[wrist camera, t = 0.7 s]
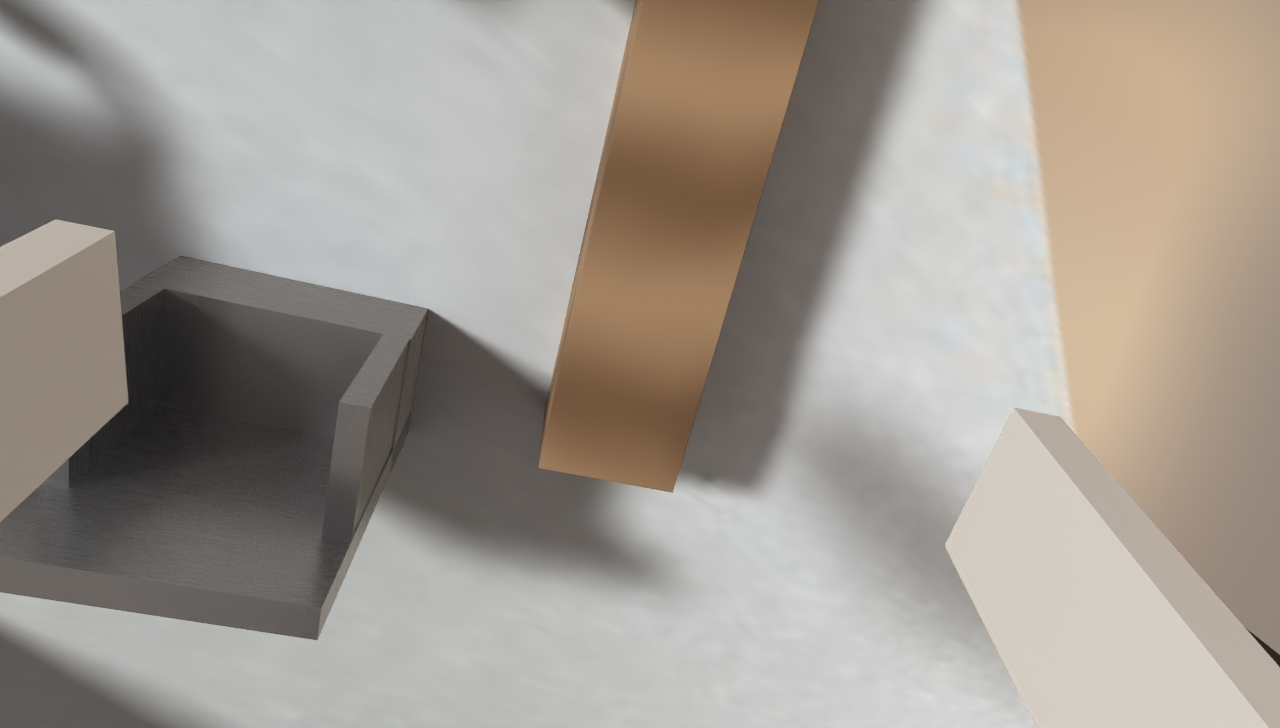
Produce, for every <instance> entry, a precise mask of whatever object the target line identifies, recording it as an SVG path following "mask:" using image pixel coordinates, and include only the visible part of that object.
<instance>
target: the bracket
mask: <svg viewBox="0 0 1280 728" xmlns="http://www.w3.org/2000/svg"><path fill="white" fill-rule="evenodd" d="M120 301H121V314H122V327H123V339H124V352H125V365H126V378H127V390H128V403H127V404H126V405H125V406H124V407H123V408H122V409H121V410H120V411H119V412H118V413H117V414H116V415H115V416H114V417H112V418H111V419H110V420H109V421H108V422H107V423H106V424H105V425H104V426H103V427H102V428H101V429H100V430H99V431H97V432H96V433H95V434H94V435H93V436H92V437H91V438H90V439H89V440H88V441H87V442H86V443H85V444H84V445H82V446H81V447H80V448H79V449H78V450H77V451H76V452H75V453H74V454H73V455H72V456H71V457H70V458H69V459H67V460H66V461H65V462H64V463H63V464H62V465H61V466H60V467H59V468H58V469H57V470H56V471H55V472H54V473H52V474H51V475H50V476H49V477H48V478H47V479H46V480H45V481H44V482H43V483H42V484H41V485H40V486H39V487H37V488H36V489H35V490H34V491H33V492H32V493H31V494H30V495H29V496H28V497H27V498H26V499H25V500H23V501H22V502H21V503H20V504H19V505H18V506H17V507H16V508H15V509H14V510H13V511H12V512H11V513H10V514H8V515H7V516H6V517H5V518H4V519H3V520H2V521H1V522H0V592H3V593H10V594H16V595H23V596H29V597H36V598H43V599H49V600H56V601H62V602H69V603H76V604H82V605H89V606H95V607H102V608H109V609H115V610H122V611H128V612H135V613H142V614H148V615H155V616H161V617H168V618H175V619H181V620H188V621H194V622H201V623H208V624H214V625H221V626H227V627H234V628H241V629H247V630H254V631H260V632H267V633H274V634H280V635H287V636H293V637H300V638H307V639H313V640H318V637H319V635H320V633H321V630H322V628H323V626H324V624H325V621H326V619H327V617H328V614H329V612H330V610H331V607H332V605H333V603H334V601H335V598H336V596H337V594H338V591H339V589H340V587H341V585H342V582H343V580H344V578H345V575H346V573H347V571H348V569H349V566H350V564H351V562H352V559H353V557H354V555H355V553H356V550H357V548H358V546H359V543H360V541H361V539H362V536H363V534H364V532H365V530H366V527H367V525H368V523H369V520H370V518H371V516H372V514H373V511H374V509H375V507H376V504H377V502H378V500H379V498H380V495H381V493H382V491H383V488H384V486H385V484H386V481H387V479H388V477H389V475H390V472H391V470H392V468H393V465H394V463H395V461H396V459H397V456H398V454H399V452H400V449H401V447H402V445H403V443H404V440H405V438H406V436H407V432H408V426H409V420H410V414H411V408H412V402H413V396H414V390H415V384H416V378H417V372H418V366H419V360H420V354H421V348H422V342H423V336H424V330H425V324H426V318H427V311H428V309H426V308H422V307H417V306H412V305H407V304H403V303H398V302H393V301H389V300H384V299H379V298H375V297H370V296H365V295H361V294H356V293H351V292H347V291H342V290H337V289H333V288H328V287H323V286H319V285H314V284H309V283H304V282H300V281H295V280H290V279H286V278H281V277H276V276H272V275H267V274H262V273H258V272H253V271H248V270H244V269H239V268H234V267H230V266H225V265H220V264H216V263H211V262H206V261H202V260H197V259H192V258H187V257H183V256H180V257H178V258H176V259H174V260H173V261H171V262H169V263H167V264H166V265H164V266H162V267H160V268H159V269H157V270H155V271H154V272H152V273H150V274H148V275H147V276H145V277H143V278H141V279H140V280H138V281H136V282H135V284H133V285H132V286H130V287H128V288H126V289H125V290H123V291H121V292H120Z"/></svg>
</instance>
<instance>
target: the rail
mask: <svg viewBox="0 0 1280 728" xmlns="http://www.w3.org/2000/svg"><path fill="white" fill-rule="evenodd" d="M818 2H819V0H636V3H635V7H634V12H633V16H632V21H631V25H630V30H629V34H628V39H627V43H626V48H625V52H624V57H623V61H622V66H621V70H620V75H619V79H618V84H617V88H616V93H615V97H614V102H613V106H612V111H611V115H610V120H609V124H608V129H607V133H606V138H605V142H604V147H603V151H602V156H601V160H600V165H599V169H598V174H597V178H596V183H595V187H594V192H593V196H592V201H591V205H590V210H589V214H588V219H587V223H586V228H585V232H584V237H583V241H582V246H581V250H580V255H579V259H578V264H577V268H576V273H575V277H574V282H573V286H572V291H571V295H570V300H569V305H568V309H567V314H566V318H565V323H564V327H563V332H562V336H561V341H560V345H559V350H558V354H557V359H556V363H555V368H554V372H553V377H552V381H551V386H550V390H549V395H548V399H547V404H546V408H545V414H544V423H543V431H542V440H541V449H540V458H539V466H538V468H541V469H546V470H552V471H557V472H563V473H568V474H574V475H579V476H585V477H590V478H596V479H601V480H607V481H612V482H618V483H623V484H629V485H634V486H640V487H645V488H651V489H656V490H661V491H667V492H672V493H673V490H674V486H675V483H676V479H677V476H678V473H679V469H680V466H681V463H682V459H683V456H684V453H685V449H686V446H687V442H688V439H689V436H690V432H691V429H692V426H693V422H694V419H695V416H696V412H697V409H698V405H699V402H700V399H701V395H702V392H703V389H704V385H705V382H706V379H707V375H708V372H709V368H710V365H711V362H712V358H713V355H714V352H715V348H716V345H717V342H718V338H719V335H720V331H721V328H722V325H723V321H724V318H725V315H726V311H727V308H728V304H729V301H730V298H731V294H732V291H733V288H734V284H735V281H736V278H737V274H738V271H739V267H740V264H741V261H742V257H743V254H744V251H745V247H746V244H747V241H748V237H749V234H750V230H751V227H752V224H753V220H754V217H755V214H756V210H757V207H758V204H759V200H760V197H761V193H762V190H763V187H764V183H765V180H766V177H767V173H768V170H769V167H770V163H771V160H772V156H773V153H774V150H775V146H776V143H777V140H778V136H779V133H780V130H781V126H782V123H783V119H784V116H785V113H786V109H787V106H788V103H789V99H790V96H791V93H792V89H793V86H794V82H795V79H796V76H797V72H798V69H799V66H800V62H801V59H802V56H803V52H804V49H805V45H806V42H807V39H808V35H809V32H810V29H811V25H812V22H813V19H814V15H815V12H816V8H817V5H818Z"/></svg>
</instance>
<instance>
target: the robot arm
mask: <svg viewBox="0 0 1280 728" xmlns="http://www.w3.org/2000/svg"><path fill="white" fill-rule="evenodd" d="M127 403H128V390H127V378H126V365H125V352H124V339H123V327H122V314H121V301H120V288H119V276H118V263H117V250H116V237H115V231H112V230H107V229H102V228H97V227H92V226H87V225H82V224H77V223H72V222H67V221H61V220H56V219H55V220H53V221H51V222H49V223H47V224H45V225H43V226H41V227H39V228H37V229H35V230H33V231H31V232H29V233H27V234H25V235H23V236H21V237H19V238H17V239H15V240H13V241H11V242H9V243H7V244H5V245H3V246H1V247H0V522H1V521H2V520H3V519H4V518H5V517H6V516H7V515H8V514H10V513H11V512H12V511H13V510H14V509H15V508H16V507H17V506H18V505H19V504H20V503H21V502H22V501H23V500H25V499H26V498H27V497H28V496H29V495H30V494H31V493H32V492H33V491H34V490H35V489H36V488H37V487H39V486H40V485H41V484H42V483H43V482H44V481H45V480H46V479H47V478H48V477H49V476H50V475H51V474H52V473H54V472H55V471H56V470H57V469H58V468H59V467H60V466H61V465H62V464H63V463H64V462H65V461H66V460H67V459H69V458H70V457H71V456H72V455H73V454H74V453H75V452H76V451H77V450H78V449H79V448H80V447H81V446H82V445H84V444H85V443H86V442H87V441H88V440H89V439H90V438H91V437H92V436H93V435H94V434H95V433H96V432H97V431H99V430H100V429H101V428H102V427H103V426H104V425H105V424H106V423H107V422H108V421H109V420H110V419H111V418H112V417H114V416H115V415H116V414H117V413H118V412H119V411H120V410H121V409H122V408H123V407H124V406H125V405H126V404H127ZM945 548H946V550H947V552H948V554H949V556H950V558H951V560H952V562H953V564H954V566H955V568H956V570H957V572H958V574H959V576H960V578H961V580H962V582H963V584H964V586H965V588H966V590H967V592H968V594H969V596H970V598H971V600H972V602H973V604H974V606H975V607H976V609H977V611H978V613H979V615H980V617H981V619H982V621H983V623H984V625H985V627H986V629H987V631H988V633H989V635H990V637H991V639H992V641H993V643H994V645H995V647H996V649H997V651H998V653H999V655H1000V657H1001V659H1002V661H1003V663H1004V665H1005V667H1006V669H1007V671H1008V673H1009V675H1010V677H1011V679H1012V681H1013V683H1014V685H1015V687H1016V689H1017V691H1018V693H1019V695H1020V697H1021V699H1022V701H1023V703H1024V705H1025V707H1026V709H1027V710H1028V712H1029V714H1030V716H1031V718H1032V720H1033V722H1034V724H1035V726H1036V728H1280V655H1279V654H1278V653H1276V652H1275V651H1274V650H1273V649H1271V648H1270V647H1269V646H1268V645H1266V644H1265V643H1264V642H1263V641H1261V640H1260V639H1259V638H1258V637H1256V636H1255V635H1254V634H1252V633H1251V632H1250V631H1249V630H1247V629H1246V628H1245V627H1244V626H1243V625H1242V624H1241V623H1240V621H1239V620H1238V619H1237V618H1236V617H1235V616H1234V615H1233V613H1232V612H1231V611H1230V610H1229V609H1228V608H1227V606H1226V605H1225V604H1224V603H1223V602H1222V601H1221V600H1220V599H1219V597H1218V596H1217V595H1216V594H1215V593H1214V592H1213V591H1212V589H1211V588H1210V587H1209V586H1208V585H1207V584H1206V583H1205V581H1204V580H1203V579H1202V578H1201V577H1200V576H1199V575H1198V573H1197V572H1196V571H1195V570H1194V569H1193V568H1192V567H1191V565H1189V563H1188V562H1187V561H1186V560H1185V559H1184V557H1183V556H1182V555H1181V554H1180V553H1179V552H1178V551H1177V549H1176V548H1175V547H1174V546H1173V545H1172V544H1171V543H1170V542H1169V540H1168V539H1167V538H1166V537H1165V536H1164V535H1163V534H1162V532H1161V531H1160V530H1159V529H1158V528H1157V527H1156V526H1155V525H1154V523H1153V522H1152V521H1151V520H1150V519H1149V518H1148V516H1147V515H1146V514H1145V513H1144V512H1143V511H1142V510H1141V508H1140V507H1139V506H1138V505H1137V504H1136V503H1135V502H1134V501H1133V499H1132V498H1131V497H1130V496H1129V495H1128V494H1127V492H1126V491H1125V490H1124V489H1123V488H1122V487H1121V486H1120V485H1119V483H1118V482H1117V481H1116V480H1115V479H1114V478H1113V477H1112V475H1111V474H1110V473H1109V472H1108V471H1107V470H1106V469H1105V467H1104V466H1103V465H1102V464H1101V463H1100V462H1099V461H1098V460H1097V458H1096V457H1095V456H1094V455H1093V454H1092V453H1091V451H1090V450H1089V449H1088V448H1087V447H1086V446H1085V445H1084V444H1083V442H1082V441H1081V440H1080V439H1079V438H1078V437H1077V435H1076V434H1075V433H1074V432H1073V431H1072V430H1071V429H1070V428H1069V426H1068V425H1067V424H1066V423H1065V422H1064V421H1063V420H1062V418H1061V417H1059V416H1053V415H1048V414H1043V413H1038V412H1033V411H1028V410H1023V409H1018V408H1013V410H1012V412H1011V414H1010V416H1009V418H1008V420H1007V422H1006V424H1005V426H1004V428H1003V430H1002V432H1001V434H1000V436H999V438H998V440H997V442H996V444H995V446H994V448H993V450H992V452H991V454H990V456H989V458H988V460H987V462H986V464H985V466H984V468H983V470H982V472H981V474H980V476H979V478H978V480H977V482H976V484H975V486H974V488H973V490H972V492H971V494H970V496H969V498H968V500H967V502H966V504H965V506H964V508H963V510H962V512H961V514H960V516H959V518H958V520H957V522H956V524H955V526H954V528H953V530H952V532H951V534H950V536H949V538H948V540H947V542H946V544H945Z"/></svg>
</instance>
